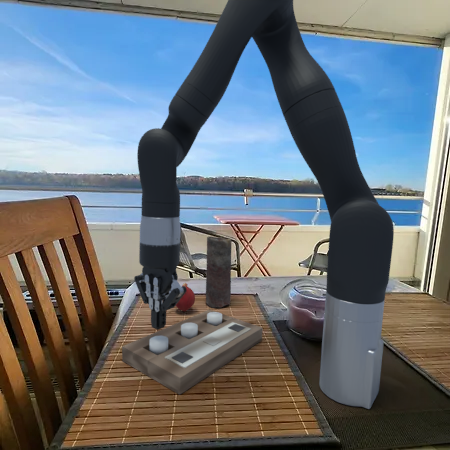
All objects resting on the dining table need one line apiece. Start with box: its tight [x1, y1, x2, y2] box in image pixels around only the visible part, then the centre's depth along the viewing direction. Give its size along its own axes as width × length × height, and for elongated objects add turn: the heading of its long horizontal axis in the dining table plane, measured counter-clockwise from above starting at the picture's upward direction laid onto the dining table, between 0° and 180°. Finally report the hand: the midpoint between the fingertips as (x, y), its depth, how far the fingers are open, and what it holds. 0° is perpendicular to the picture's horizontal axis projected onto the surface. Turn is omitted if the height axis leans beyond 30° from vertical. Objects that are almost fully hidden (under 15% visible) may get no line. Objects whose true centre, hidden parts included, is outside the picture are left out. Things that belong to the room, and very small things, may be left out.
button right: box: [207, 311, 223, 326], centre depth 77 cm, size 4×4×2 cm
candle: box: [205, 236, 232, 309], centre depth 96 cm, size 8×7×20 cm
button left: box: [149, 336, 168, 355], centre depth 64 cm, size 4×4×2 cm
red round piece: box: [175, 282, 196, 313], centre depth 90 cm, size 6×6×8 cm
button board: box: [121, 309, 263, 395], centre depth 69 cm, size 16×26×3 cm, turn 142°
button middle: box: [181, 323, 198, 339], centre depth 71 cm, size 4×4×2 cm
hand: (158, 327), depth 64 cm, fingers closed
